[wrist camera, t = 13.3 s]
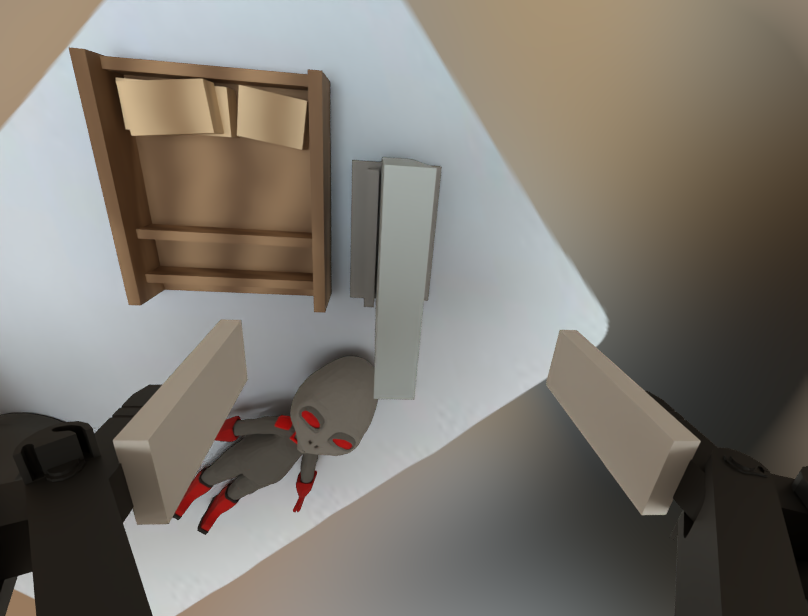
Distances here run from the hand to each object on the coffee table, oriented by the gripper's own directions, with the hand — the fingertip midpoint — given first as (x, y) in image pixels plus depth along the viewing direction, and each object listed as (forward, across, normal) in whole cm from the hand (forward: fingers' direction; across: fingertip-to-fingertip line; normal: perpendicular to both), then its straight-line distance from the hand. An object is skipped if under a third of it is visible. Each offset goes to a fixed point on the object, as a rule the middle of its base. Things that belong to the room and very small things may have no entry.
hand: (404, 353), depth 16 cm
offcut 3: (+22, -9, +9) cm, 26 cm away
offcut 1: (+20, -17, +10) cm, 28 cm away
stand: (+23, +1, 0) cm, 23 cm away
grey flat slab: (+22, 0, 0) cm, 22 cm away
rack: (+23, -14, +3) cm, 27 cm away
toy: (+24, -11, -24) cm, 36 cm away
